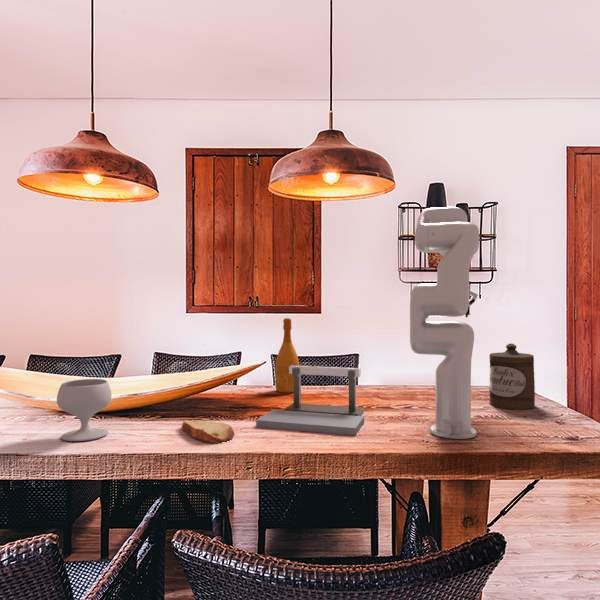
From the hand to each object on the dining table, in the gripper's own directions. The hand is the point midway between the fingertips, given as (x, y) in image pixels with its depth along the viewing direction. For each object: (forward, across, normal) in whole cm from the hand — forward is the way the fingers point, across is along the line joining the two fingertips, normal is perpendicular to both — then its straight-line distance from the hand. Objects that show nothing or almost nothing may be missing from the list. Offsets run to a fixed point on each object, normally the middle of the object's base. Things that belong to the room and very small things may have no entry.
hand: (452, 317), depth 181 cm
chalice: (+31, -98, -78) cm, 129 cm away
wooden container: (+32, +20, -1) cm, 37 cm away
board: (+31, -41, -48) cm, 70 cm away
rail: (+18, -41, -32) cm, 55 cm away
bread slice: (+32, -67, -66) cm, 99 cm away
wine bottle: (+31, -65, 0) cm, 72 cm away
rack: (+31, -41, -32) cm, 61 cm away
